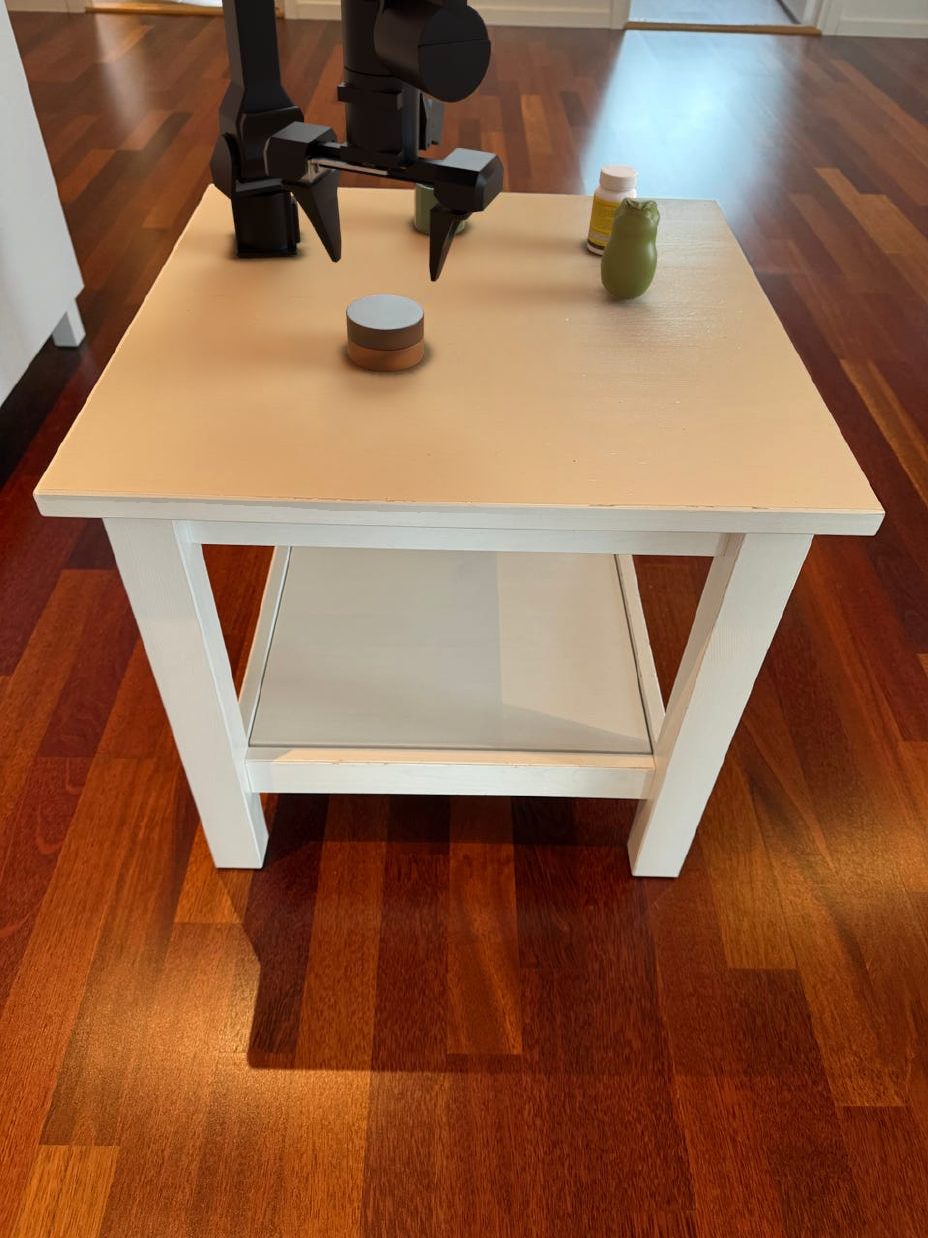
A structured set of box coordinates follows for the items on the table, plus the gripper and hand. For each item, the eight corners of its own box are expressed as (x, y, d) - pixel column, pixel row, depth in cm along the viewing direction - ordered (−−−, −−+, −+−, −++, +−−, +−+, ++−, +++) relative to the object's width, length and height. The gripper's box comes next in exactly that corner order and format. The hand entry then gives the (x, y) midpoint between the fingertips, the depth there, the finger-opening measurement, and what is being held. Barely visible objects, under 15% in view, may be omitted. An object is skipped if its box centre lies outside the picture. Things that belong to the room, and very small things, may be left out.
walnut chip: (351, 352, 81) (350, 331, 79) (343, 315, 86) (342, 295, 84) (429, 348, 82) (429, 327, 80) (417, 312, 87) (417, 292, 85)
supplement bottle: (620, 260, 102) (633, 181, 96) (580, 251, 103) (591, 172, 97) (633, 245, 105) (646, 167, 99) (594, 236, 106) (605, 159, 101)
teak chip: (352, 373, 82) (351, 353, 81) (344, 336, 87) (343, 316, 86) (429, 369, 83) (429, 348, 82) (417, 332, 88) (417, 312, 87)
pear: (593, 303, 94) (608, 203, 87) (599, 282, 98) (613, 184, 91) (648, 311, 93) (667, 210, 86) (651, 289, 97) (670, 190, 90)
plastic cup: (418, 236, 104) (419, 190, 101) (411, 216, 108) (411, 172, 105) (468, 234, 105) (470, 189, 102) (459, 215, 109) (460, 170, 106)
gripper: (531, 57, 72) (514, 254, 83) (315, 27, 76) (327, 219, 87) (487, 93, 65) (475, 305, 75) (250, 58, 68) (271, 264, 79)
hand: (385, 270), depth 80 cm, fingers open, 9 cm apart
